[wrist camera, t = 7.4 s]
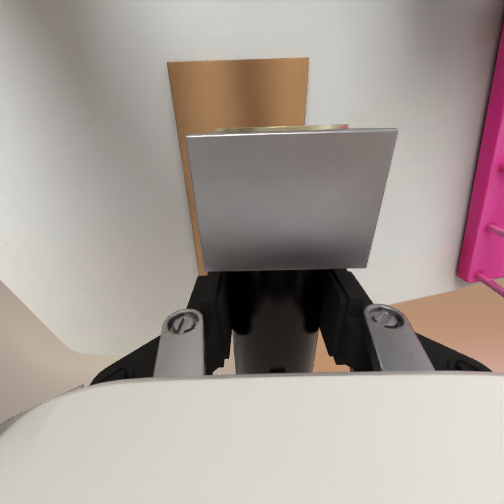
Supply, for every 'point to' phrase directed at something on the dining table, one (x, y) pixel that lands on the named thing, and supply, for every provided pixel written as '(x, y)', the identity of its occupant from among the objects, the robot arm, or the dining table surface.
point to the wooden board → (234, 103)
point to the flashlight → (285, 226)
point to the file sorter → (488, 195)
